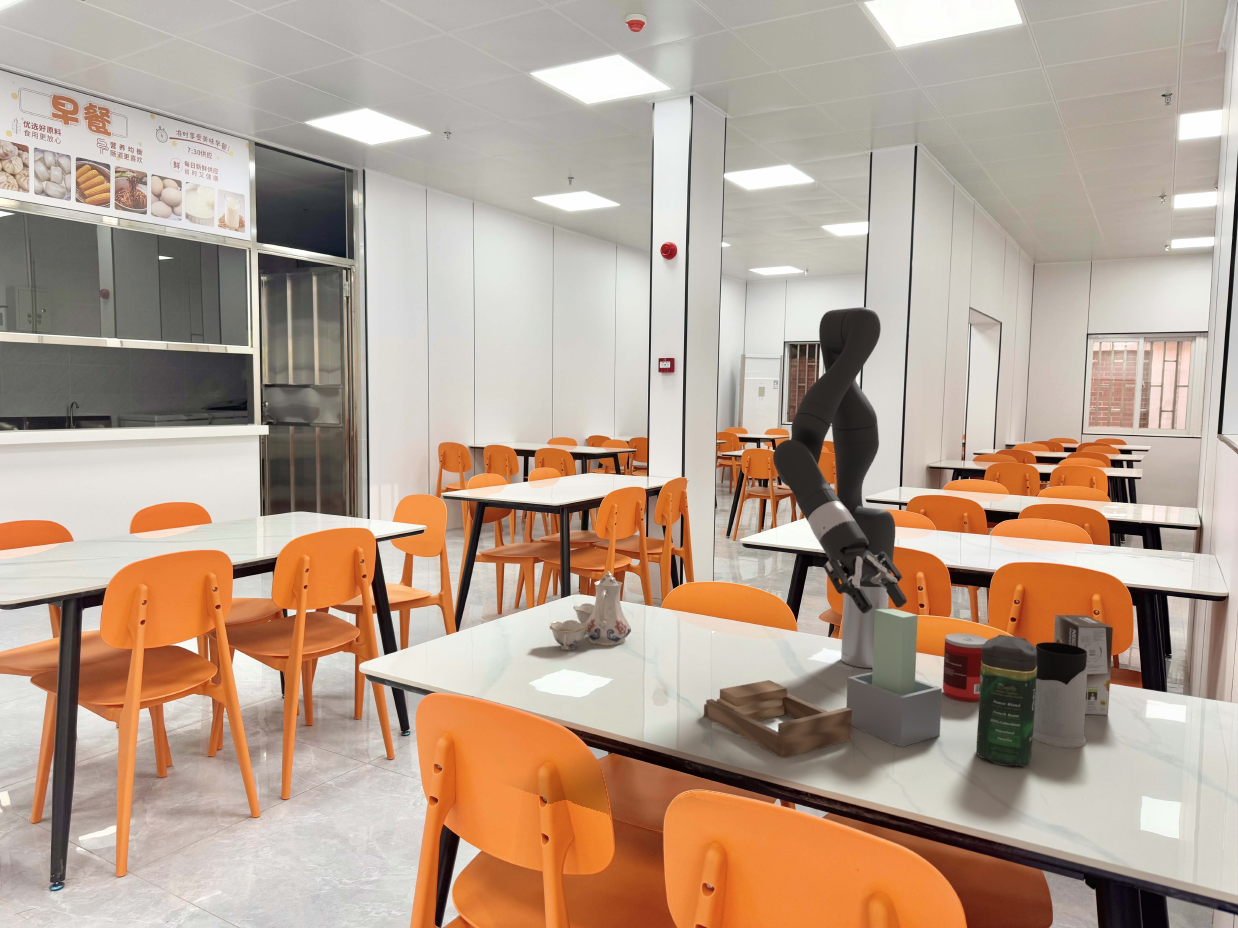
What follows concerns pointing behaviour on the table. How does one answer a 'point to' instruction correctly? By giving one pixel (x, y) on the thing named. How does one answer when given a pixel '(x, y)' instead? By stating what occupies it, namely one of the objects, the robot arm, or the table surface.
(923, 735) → the grey holder
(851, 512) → the robot arm
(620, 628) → the chinaware
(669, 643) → the table surface
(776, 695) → the offcut stack
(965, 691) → the canned food
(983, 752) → the coffee jar
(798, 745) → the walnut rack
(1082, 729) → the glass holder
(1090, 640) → the coffee box
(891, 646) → the tall mint green block
